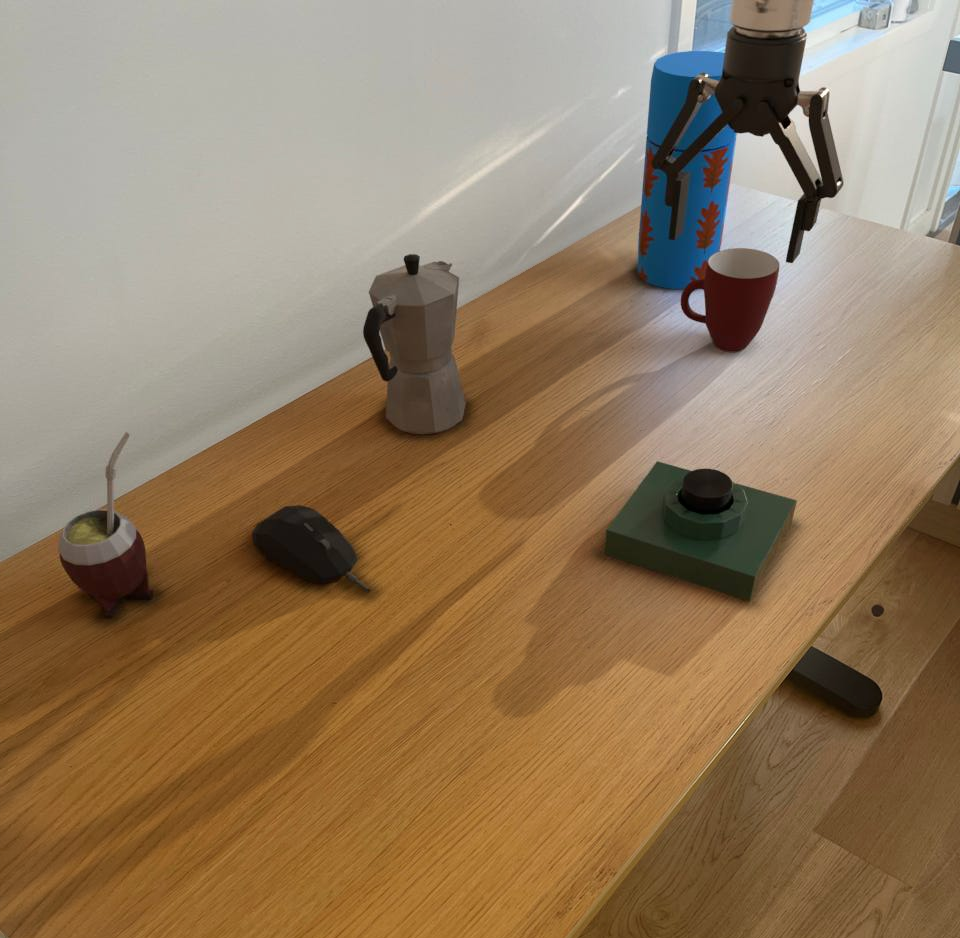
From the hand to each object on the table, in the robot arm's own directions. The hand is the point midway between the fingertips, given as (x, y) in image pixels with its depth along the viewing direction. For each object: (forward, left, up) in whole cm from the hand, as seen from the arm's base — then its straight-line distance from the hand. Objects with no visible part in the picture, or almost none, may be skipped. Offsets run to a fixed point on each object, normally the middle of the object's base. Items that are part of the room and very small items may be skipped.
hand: (732, 246), depth 106 cm
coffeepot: (+24, +30, -12) cm, 40 cm away
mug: (0, 0, -12) cm, 12 cm away
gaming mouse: (+20, +55, -12) cm, 60 cm away
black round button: (-11, +36, -7) cm, 38 cm away
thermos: (+12, -16, -12) cm, 23 cm away
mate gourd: (+33, +67, -12) cm, 76 cm away
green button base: (-11, +36, -12) cm, 39 cm away
